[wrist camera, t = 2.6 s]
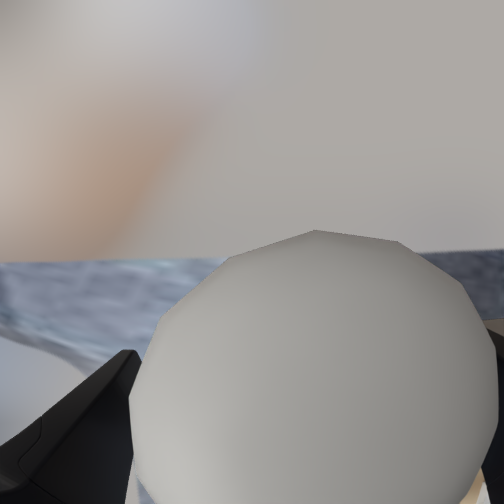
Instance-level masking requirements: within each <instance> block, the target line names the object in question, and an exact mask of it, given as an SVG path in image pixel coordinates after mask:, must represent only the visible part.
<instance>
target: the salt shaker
mask: <svg viewBox="0 0 504 504" xmlns="http://www.w3.org/2000/svg"><path fill="white" fill-rule="evenodd" d="M129 408H130V421H131V432H132V442H133V451H134V458H135V466H136V473H137V477H138V478H139V480H140V481H141V483H142V485H143V486H144V487H145V489H146V490H147V492H148V493H149V495H150V496H151V498H152V499H153V500H154V502H155V503H156V504H459V503H460V502H461V501H462V500H463V498H464V497H465V496H466V495H467V493H468V492H469V490H470V488H471V486H472V484H473V482H474V480H475V478H476V476H477V474H478V472H479V470H480V468H481V465H482V463H483V461H484V459H485V456H486V454H487V452H488V449H489V447H490V444H491V442H492V439H493V436H494V434H495V431H496V428H497V424H498V373H497V359H496V349H495V346H494V344H493V342H492V340H491V338H490V336H489V333H488V331H487V329H486V327H485V325H484V324H483V322H482V320H481V318H480V316H479V314H478V312H477V310H476V308H475V307H474V305H473V303H472V301H471V299H470V298H469V296H468V294H467V292H466V291H465V289H464V287H463V286H462V284H461V283H460V282H458V281H457V280H456V279H454V278H453V277H451V276H450V275H448V274H447V273H445V272H444V271H442V270H441V269H439V268H438V267H436V266H435V265H433V264H432V263H430V262H429V261H427V260H426V259H424V258H423V257H421V256H420V255H418V254H417V253H415V252H413V251H412V250H410V249H409V248H407V247H405V246H404V245H402V244H401V243H399V242H396V241H390V240H383V239H376V238H370V237H363V236H355V235H348V234H341V233H334V232H326V231H318V230H313V231H310V232H307V233H304V234H301V235H298V236H295V237H292V238H289V239H286V240H282V241H279V242H276V243H273V244H270V245H267V246H264V247H261V248H258V249H255V250H252V251H248V252H246V253H242V254H239V255H236V256H233V257H230V258H228V259H227V260H226V261H225V262H224V263H223V264H221V265H220V266H219V267H218V268H217V269H216V270H214V271H213V272H212V273H211V274H210V275H209V276H207V277H206V278H205V279H204V280H203V281H202V282H201V283H199V284H198V285H197V286H196V287H195V288H194V289H192V290H191V291H190V292H189V293H188V294H187V295H186V296H184V297H183V298H182V299H181V300H180V301H179V302H178V303H176V304H175V305H174V306H173V307H172V308H171V309H169V310H168V311H167V312H166V313H165V314H164V315H163V316H161V317H160V320H159V322H158V324H157V327H156V329H155V332H154V334H153V337H152V339H151V341H150V344H149V346H148V349H147V351H146V354H145V356H144V359H143V361H142V364H141V366H140V369H139V372H138V374H137V377H136V379H135V382H134V385H133V387H132V390H131V393H130V395H129Z"/></svg>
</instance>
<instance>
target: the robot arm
mask: <svg viewBox="0 0 504 504" xmlns="http://www.w3.org/2000/svg"><path fill="white" fill-rule="evenodd" d="M486 329H487V331H488V333H489V336H490V338H491V340H492V342H493V344H494V346H495V349H496V359H497V373H498V424H497V428H496V431H495V434H494V436H493V439H492V442H491V444H490V447H489V449H488V452H487V454H486V456H485V459H484V461H483V463H482V465H481V470H482V473H483V476H484V480H485V484H486V486H487V487H486V488H487V492H488V496H489V500H490V504H504V336H502V335H500V334H498V333H496V332H494V331H492V330H490V329H488V328H486ZM141 364H142V361H141V359H140V357H139V355H138V353H137V352H136V351H135V350H122V351H120V352H119V353H118V354H116V355H115V356H114V357H113V358H111V359H110V360H109V361H108V362H107V363H105V364H104V365H103V366H102V367H100V368H99V369H98V370H97V371H95V372H94V373H93V374H92V375H91V376H89V377H88V378H87V379H86V380H84V381H83V382H82V383H81V384H80V385H78V386H77V387H76V388H75V389H73V390H72V391H71V392H70V393H69V394H67V395H66V396H65V397H64V398H63V399H61V400H60V401H59V402H57V403H56V404H55V405H54V406H53V407H51V408H50V409H49V410H48V411H46V412H45V413H44V414H43V415H42V416H41V417H39V418H38V419H37V420H35V421H34V422H33V423H32V424H30V425H29V426H28V427H27V428H25V429H24V430H23V431H21V432H20V433H19V434H17V435H16V436H14V437H13V438H12V439H10V440H9V441H7V442H6V443H4V444H3V445H1V446H0V504H125V499H126V492H127V487H128V480H129V476H130V470H131V465H132V460H133V455H134V451H133V442H132V432H131V421H130V408H129V395H130V393H131V390H132V387H133V385H134V382H135V379H136V377H137V374H138V372H139V369H140V366H141Z"/></svg>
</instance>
